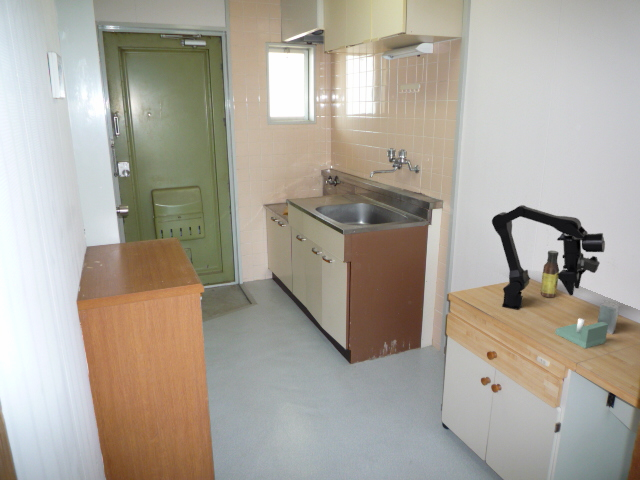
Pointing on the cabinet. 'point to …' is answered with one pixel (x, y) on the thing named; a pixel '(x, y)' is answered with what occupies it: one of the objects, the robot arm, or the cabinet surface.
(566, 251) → the robot arm
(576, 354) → the cabinet surface
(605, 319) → the gray upright column
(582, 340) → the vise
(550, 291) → the sauce bottle
